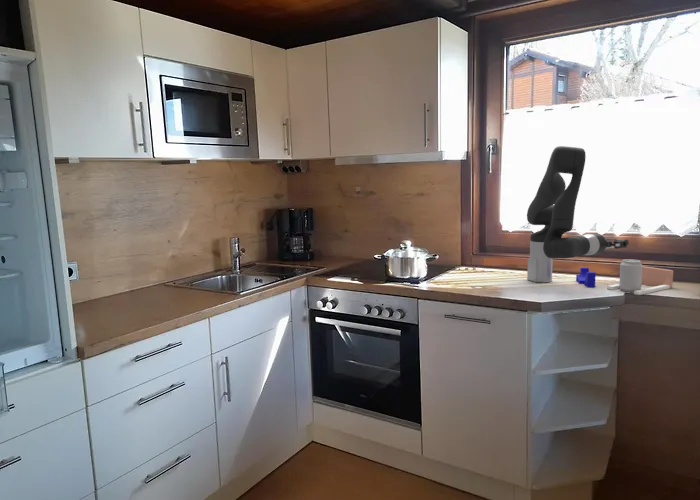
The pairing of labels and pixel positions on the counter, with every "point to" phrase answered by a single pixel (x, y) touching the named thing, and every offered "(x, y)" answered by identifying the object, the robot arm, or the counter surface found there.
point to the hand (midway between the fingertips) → (616, 241)
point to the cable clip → (586, 277)
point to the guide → (652, 280)
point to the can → (630, 275)
